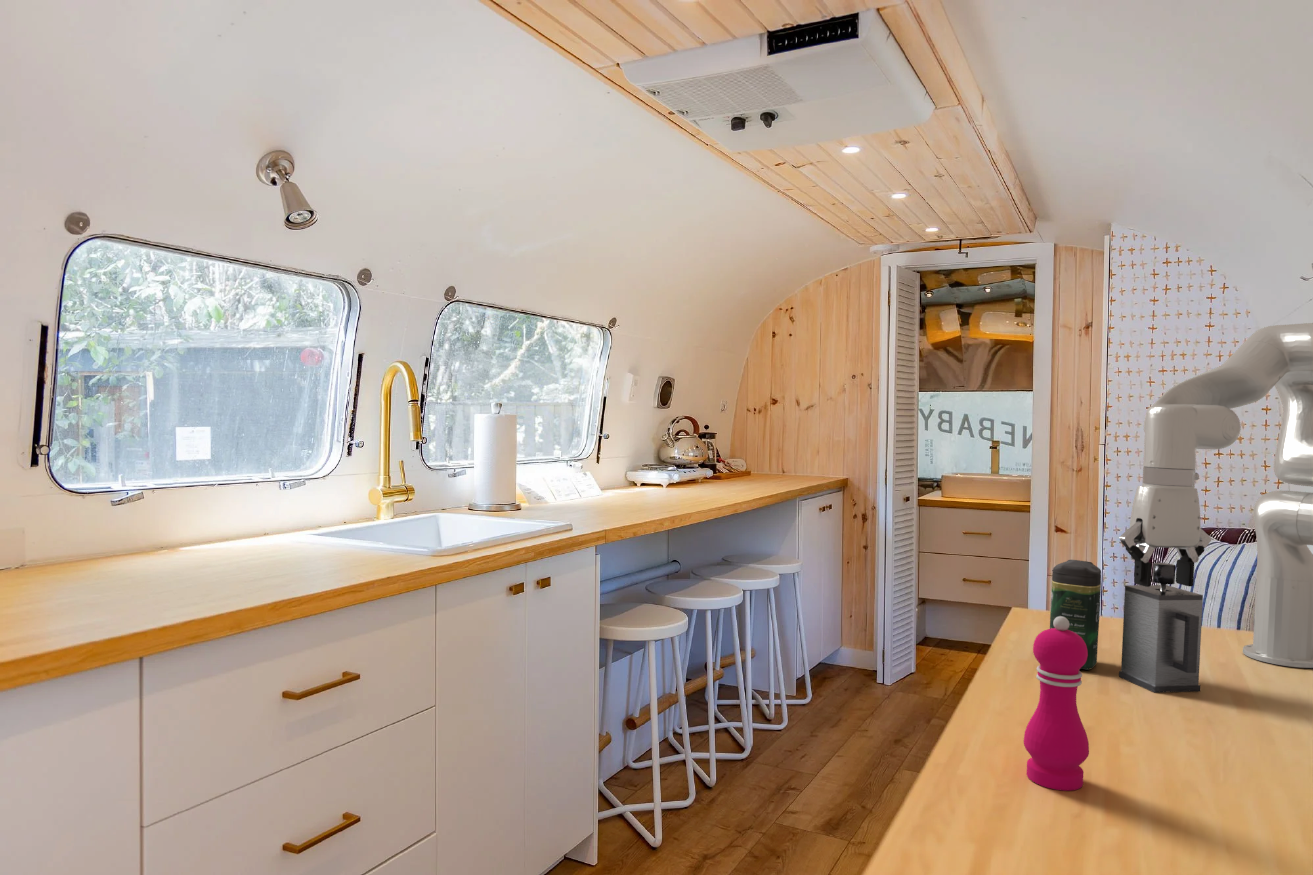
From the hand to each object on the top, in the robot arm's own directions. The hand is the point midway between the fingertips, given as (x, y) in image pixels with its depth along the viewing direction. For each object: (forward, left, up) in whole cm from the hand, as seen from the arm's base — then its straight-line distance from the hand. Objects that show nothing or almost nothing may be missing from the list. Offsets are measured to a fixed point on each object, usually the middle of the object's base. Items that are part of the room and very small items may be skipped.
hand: (1163, 584), depth 146 cm
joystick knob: (0, 0, -10) cm, 10 cm away
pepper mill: (+42, +34, -17) cm, 57 cm away
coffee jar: (+7, -12, -17) cm, 22 cm away
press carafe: (0, +1, -17) cm, 17 cm away
